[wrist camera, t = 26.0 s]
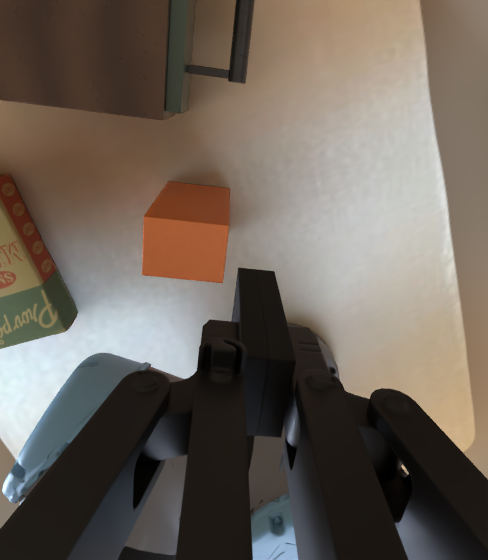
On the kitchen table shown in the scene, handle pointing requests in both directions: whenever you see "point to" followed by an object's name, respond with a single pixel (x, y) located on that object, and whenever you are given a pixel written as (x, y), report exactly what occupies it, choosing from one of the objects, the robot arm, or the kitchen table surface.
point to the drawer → (182, 51)
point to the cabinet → (86, 55)
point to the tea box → (187, 233)
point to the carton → (27, 277)
